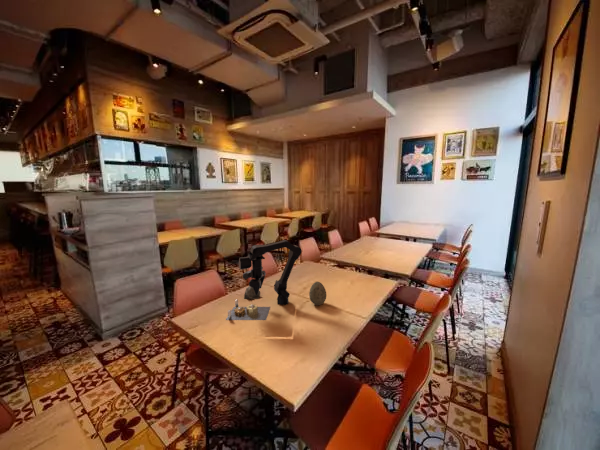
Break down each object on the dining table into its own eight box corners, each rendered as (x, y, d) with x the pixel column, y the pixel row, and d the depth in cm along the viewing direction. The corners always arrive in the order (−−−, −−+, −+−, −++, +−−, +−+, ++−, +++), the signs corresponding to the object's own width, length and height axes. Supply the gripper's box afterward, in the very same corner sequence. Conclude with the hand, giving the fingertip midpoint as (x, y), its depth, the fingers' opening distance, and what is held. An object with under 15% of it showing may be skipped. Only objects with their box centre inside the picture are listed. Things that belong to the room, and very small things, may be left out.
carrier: (270, 308, 149) (270, 299, 148) (266, 321, 134) (265, 311, 133) (234, 308, 150) (233, 299, 149) (225, 321, 135) (224, 311, 134)
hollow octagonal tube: (258, 310, 144) (258, 304, 144) (256, 315, 139) (255, 309, 138) (248, 310, 145) (248, 304, 144) (246, 315, 139) (245, 309, 138)
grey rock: (256, 301, 157) (249, 288, 157) (245, 306, 160) (238, 293, 160) (262, 293, 168) (255, 281, 167) (252, 298, 171) (245, 286, 170)
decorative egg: (314, 299, 160) (313, 277, 157) (329, 302, 154) (329, 280, 152) (306, 306, 150) (306, 283, 148) (322, 310, 145) (321, 286, 143)
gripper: (247, 262, 152) (249, 285, 155) (239, 272, 134) (240, 298, 136) (265, 261, 152) (266, 285, 154) (258, 272, 133) (260, 298, 136)
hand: (258, 291), depth 145 cm, fingers open, 9 cm apart
